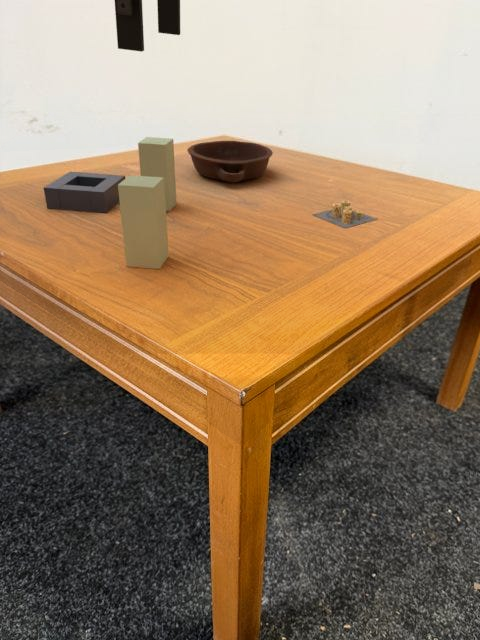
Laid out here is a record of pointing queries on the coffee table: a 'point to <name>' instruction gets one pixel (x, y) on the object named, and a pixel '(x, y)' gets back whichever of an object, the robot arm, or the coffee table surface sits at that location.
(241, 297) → the coffee table surface
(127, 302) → the coffee table surface
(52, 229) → the coffee table surface
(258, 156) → the dish
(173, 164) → the standing block
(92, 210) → the socket block
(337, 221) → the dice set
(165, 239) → the tall olive green block
